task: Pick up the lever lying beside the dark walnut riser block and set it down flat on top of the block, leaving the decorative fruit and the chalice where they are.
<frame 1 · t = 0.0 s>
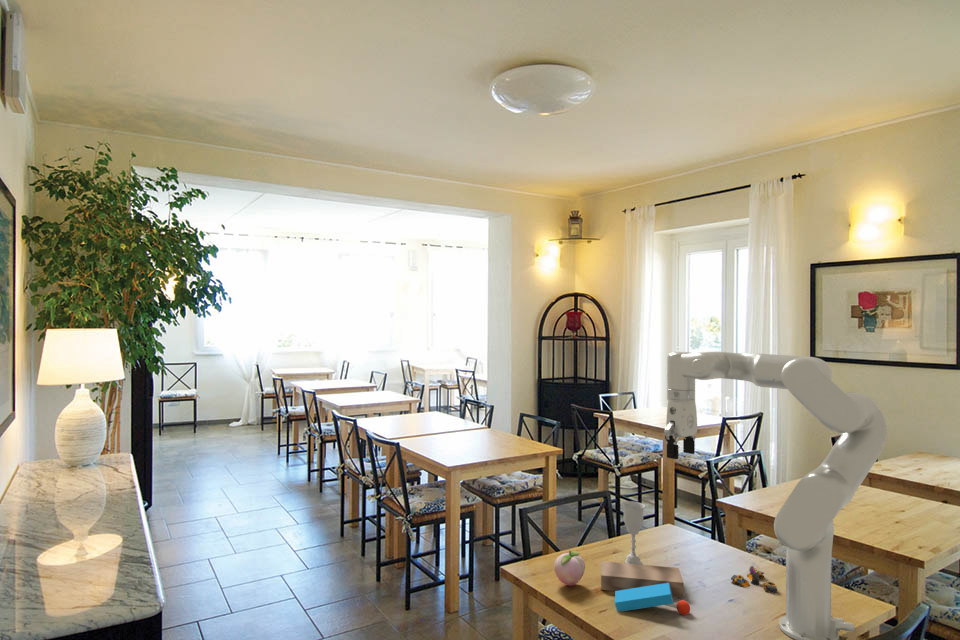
hand: (680, 455, 163), 37 cm above the table, tool pointing down, fingers open, 9 cm apart
walnut riser block: (640, 585, 164), on the table
decorative fruit: (568, 586, 163), on the table
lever: (652, 610, 150), on the table
chalice: (633, 563, 180), on the table
toy set: (757, 587, 165), on the table
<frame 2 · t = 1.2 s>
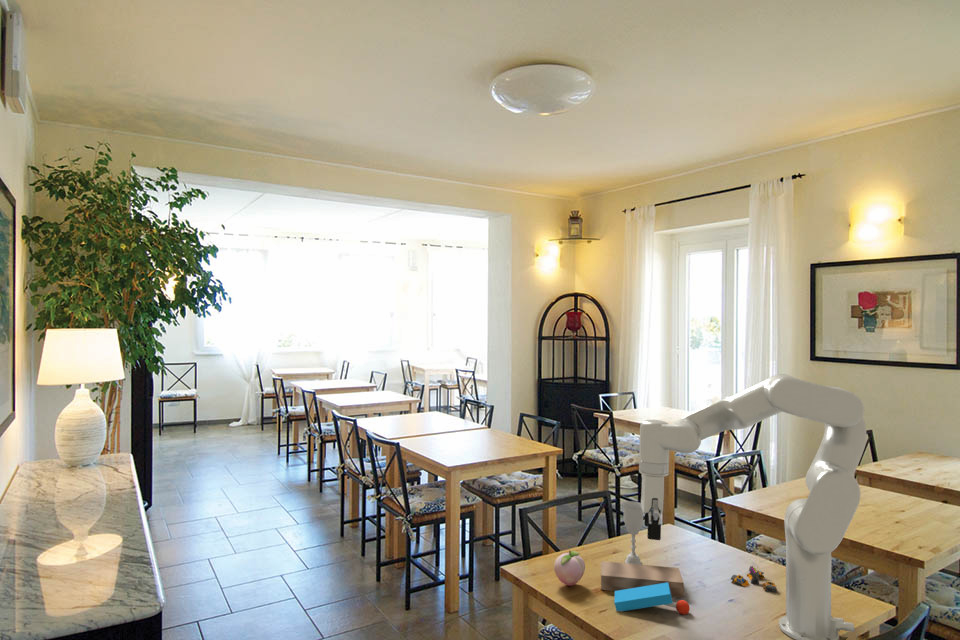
hand: (652, 532, 151), 20 cm above the table, tool pointing down, fingers open, 9 cm apart
nothing on the table moved.
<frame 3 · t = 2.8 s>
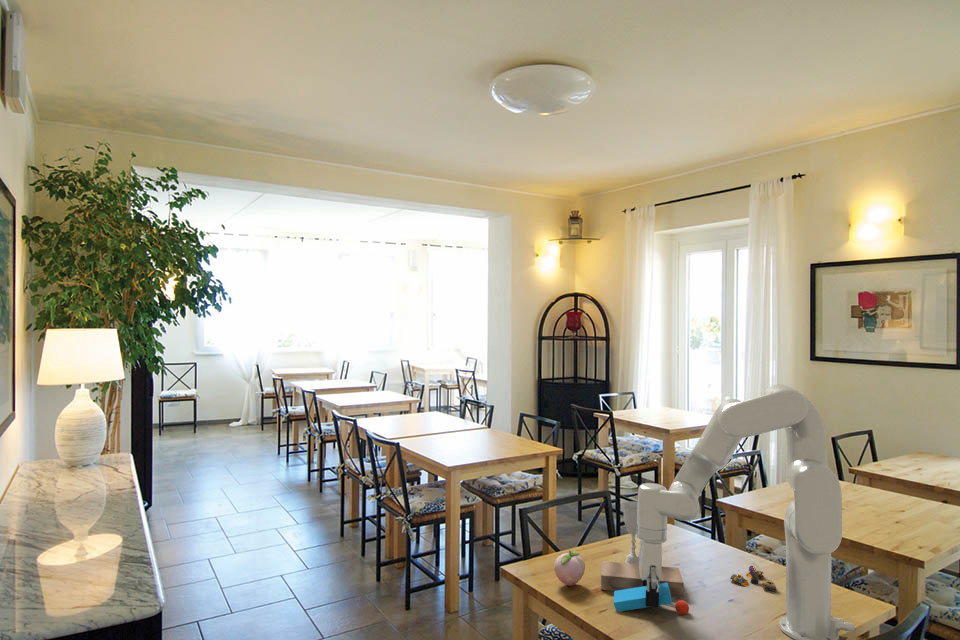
hand: (650, 598, 150), 3 cm above the table, tool pointing down, fingers open, 9 cm apart
nothing on the table moved.
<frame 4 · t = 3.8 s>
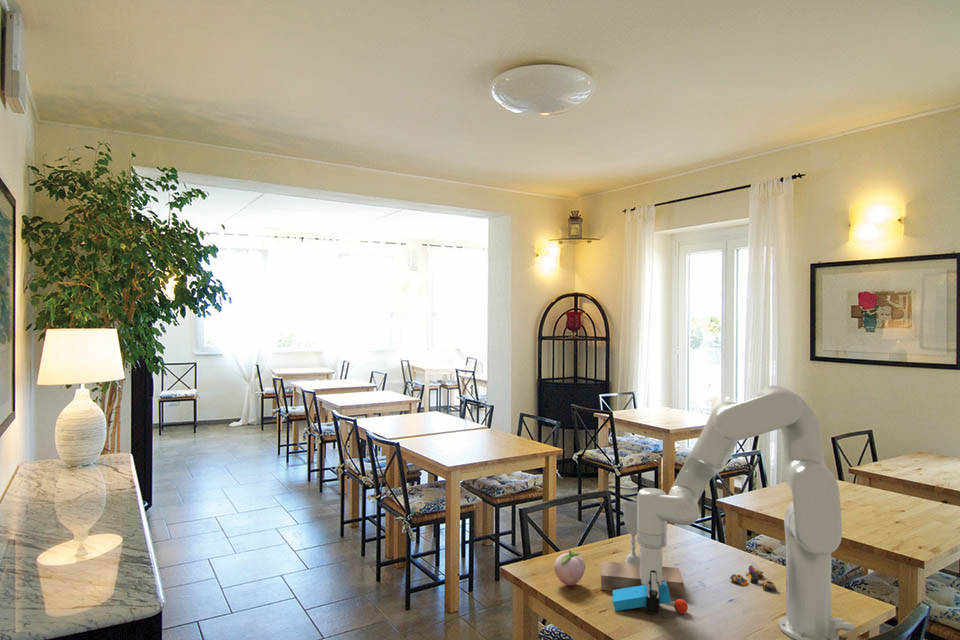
hand: (651, 605, 150), 1 cm above the table, tool pointing down, fingers closed on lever, 7 cm apart
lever: (649, 609, 150), on the table, touching gripper
everything else where it was.
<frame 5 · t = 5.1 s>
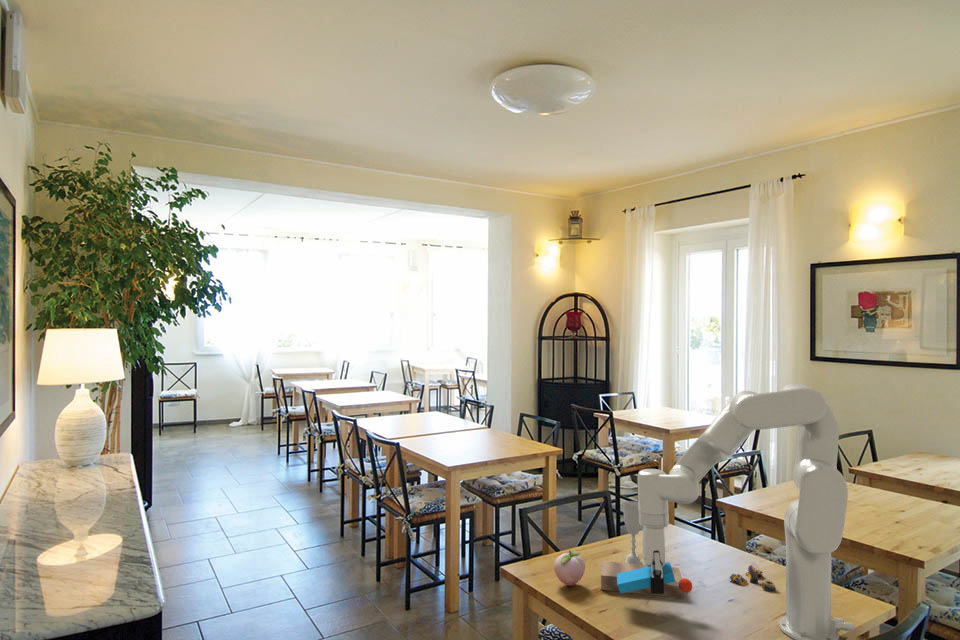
hand: (655, 586, 150), 6 cm above the table, tool pointing down, fingers closed on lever, 7 cm apart
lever: (654, 590, 150), point 5 cm above the table, touching gripper
everything else where it was.
when the fingers open (7 cm above the table, at t = 8.8 s): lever drops 2 cm, resting on walnut riser block.
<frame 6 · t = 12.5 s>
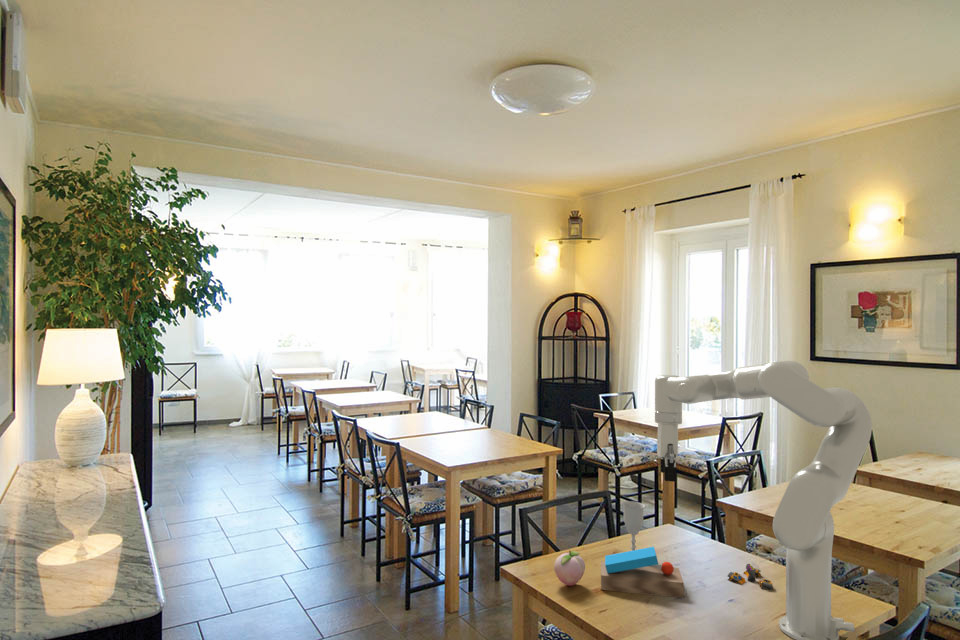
hand: (668, 476, 167), 30 cm above the table, tool pointing down, fingers open, 9 cm apart
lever: (638, 572, 164), point 4 cm above the table, touching walnut riser block
toy set: (753, 585, 166), on the table
everything else where it was.
at the end: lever 0.5 cm off-centre on the walnut riser block, point 3.8 cm above the walnut riser block's base; the gripper is holding nothing; decorative fruit moved 0.2 cm from its start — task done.
